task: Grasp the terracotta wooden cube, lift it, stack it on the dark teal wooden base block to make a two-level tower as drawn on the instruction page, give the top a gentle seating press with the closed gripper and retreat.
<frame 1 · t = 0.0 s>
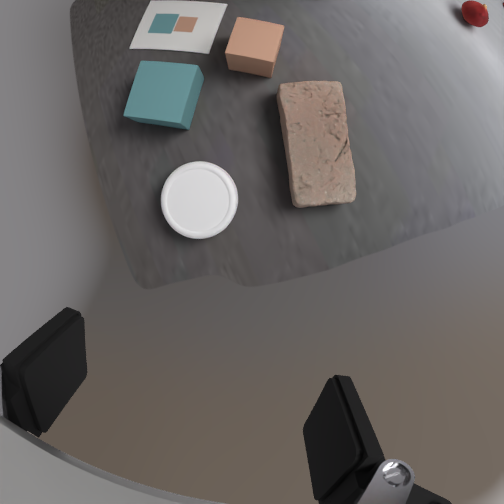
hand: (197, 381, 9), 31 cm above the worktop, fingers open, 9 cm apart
instruction page: (177, 24, 32), on the worktop
coaster: (202, 198, 39), on the worktop
brick: (313, 145, 37), on the worktop
onion: (464, 19, 29), on the worktop
base block: (170, 99, 35), on the worktop
clay block: (255, 56, 34), on the worktop
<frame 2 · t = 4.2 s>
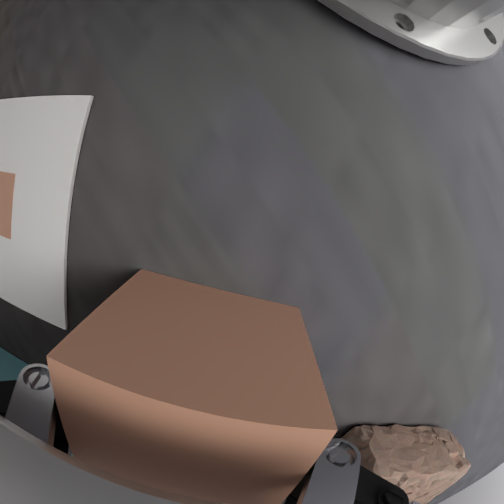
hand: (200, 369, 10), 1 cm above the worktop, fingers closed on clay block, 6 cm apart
brick: (339, 487, 15), on the worktop
base block: (40, 408, 13), on the worktop
clay block: (204, 355, 11), on the worktop, touching gripper
when the fingers open (7 cm above the worktop, at t = 8.9 s): clay block drops 1 cm, resting on base block.
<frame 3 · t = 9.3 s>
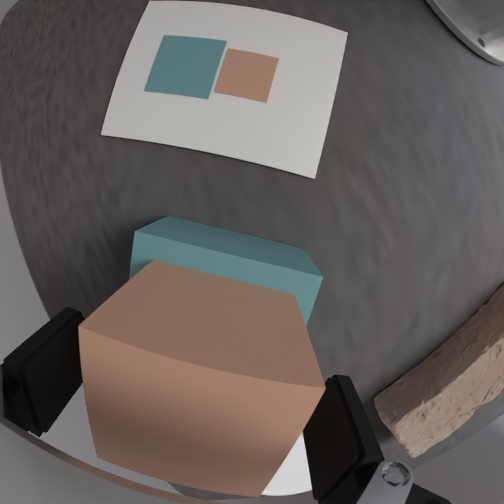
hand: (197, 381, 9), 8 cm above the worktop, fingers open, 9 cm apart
instruction page: (223, 70, 14), on the worktop
coaster: (283, 441, 21), on the worktop
brick: (456, 361, 20), on the worktop
base block: (220, 295, 17), on the worktop
clay block: (209, 338, 12), point 5 cm above the worktop, touching base block
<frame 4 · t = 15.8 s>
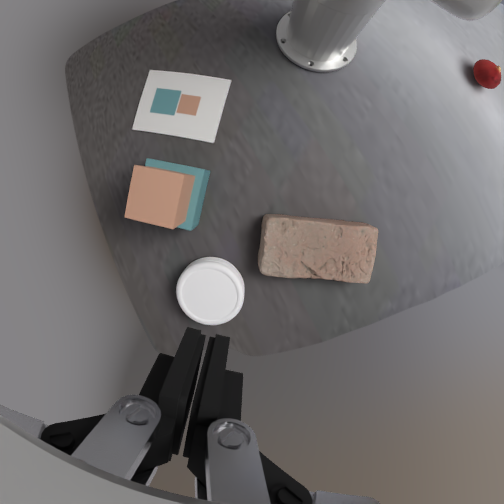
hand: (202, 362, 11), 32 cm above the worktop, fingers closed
instruction page: (180, 103, 37), on the worktop
coaster: (212, 286, 44), on the worktop
brick: (314, 244, 43), on the worktop
onion: (475, 78, 34), on the worktop
base block: (177, 192, 41), on the worktop
clay block: (168, 193, 36), point 5 cm above the worktop, touching base block
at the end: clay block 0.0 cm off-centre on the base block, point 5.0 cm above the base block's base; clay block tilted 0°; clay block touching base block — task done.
